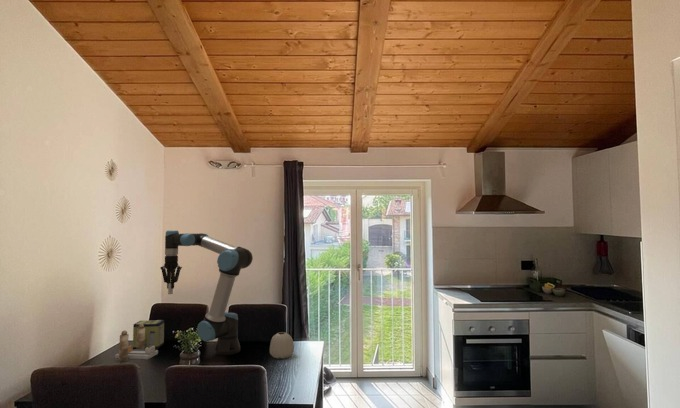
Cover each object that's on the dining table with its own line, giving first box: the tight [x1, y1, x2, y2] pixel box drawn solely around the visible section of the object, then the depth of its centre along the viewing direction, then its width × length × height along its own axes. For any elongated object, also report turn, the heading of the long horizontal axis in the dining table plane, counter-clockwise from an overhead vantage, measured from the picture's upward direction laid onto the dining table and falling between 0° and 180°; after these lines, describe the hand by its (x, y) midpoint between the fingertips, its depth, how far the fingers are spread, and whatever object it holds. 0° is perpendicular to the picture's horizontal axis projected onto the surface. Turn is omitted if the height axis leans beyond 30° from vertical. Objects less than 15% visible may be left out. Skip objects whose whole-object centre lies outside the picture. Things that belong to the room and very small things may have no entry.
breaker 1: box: [128, 343, 133, 352], centre depth 227 cm, size 3×5×4 cm, turn 175°
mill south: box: [136, 324, 145, 350], centre depth 235 cm, size 4×4×16 cm
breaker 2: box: [145, 345, 156, 353], centre depth 226 cm, size 3×5×4 cm, turn 175°
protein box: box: [132, 319, 165, 350], centre depth 245 cm, size 10×16×16 cm
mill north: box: [118, 330, 130, 363], centre depth 219 cm, size 4×4×16 cm
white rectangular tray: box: [114, 348, 159, 360], centre depth 226 cm, size 20×10×3 cm, turn 85°
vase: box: [269, 331, 295, 360], centre depth 224 cm, size 14×14×13 cm
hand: (170, 294), depth 237 cm, fingers closed
